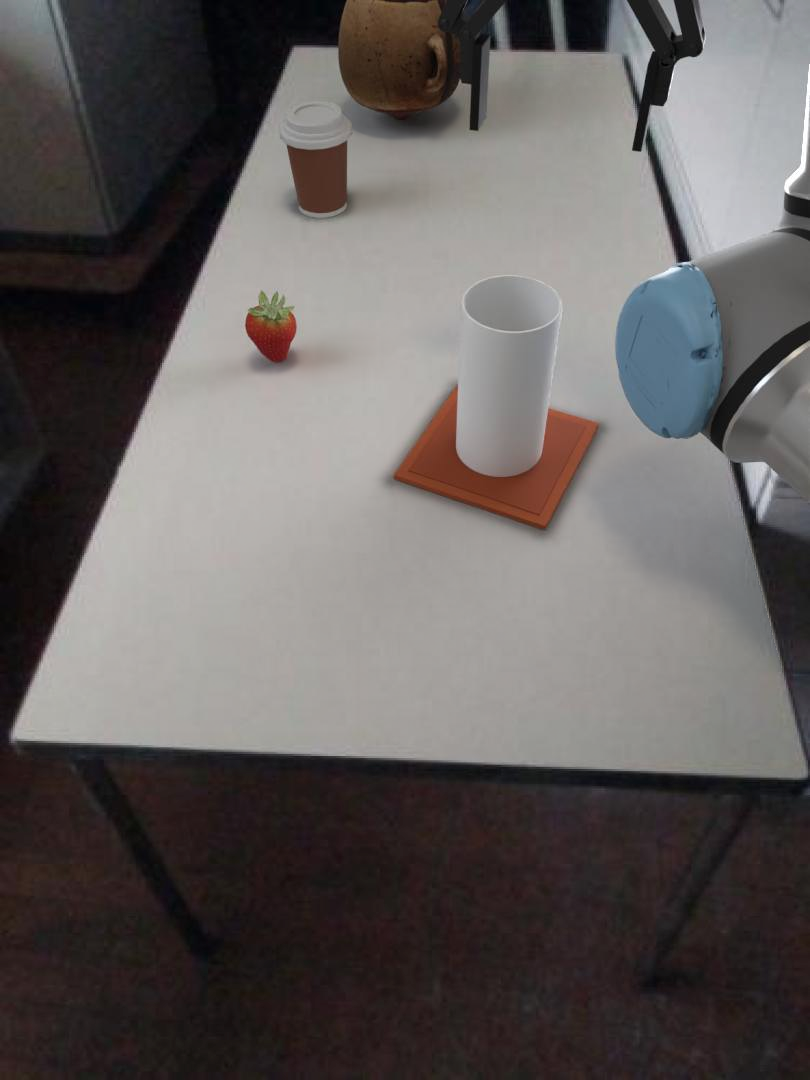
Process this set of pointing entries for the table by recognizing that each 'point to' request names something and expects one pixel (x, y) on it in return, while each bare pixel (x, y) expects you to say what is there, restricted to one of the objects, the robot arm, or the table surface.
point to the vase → (397, 55)
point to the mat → (506, 496)
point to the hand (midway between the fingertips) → (556, 134)
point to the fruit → (271, 327)
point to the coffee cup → (318, 156)
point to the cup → (505, 372)
